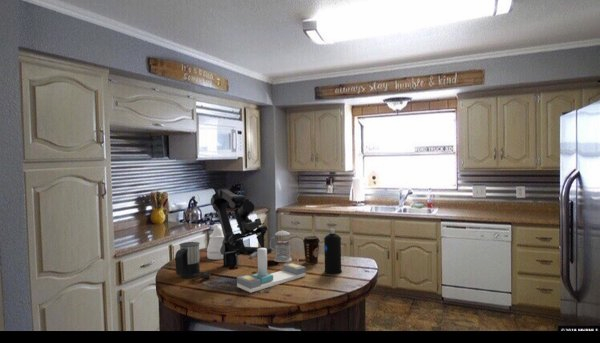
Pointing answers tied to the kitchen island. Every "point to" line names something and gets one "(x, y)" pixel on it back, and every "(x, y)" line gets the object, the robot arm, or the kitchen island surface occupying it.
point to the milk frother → (188, 261)
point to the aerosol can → (332, 253)
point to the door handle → (253, 251)
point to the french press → (282, 247)
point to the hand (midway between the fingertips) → (255, 251)
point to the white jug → (215, 243)
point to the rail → (287, 274)
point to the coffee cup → (311, 249)
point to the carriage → (262, 266)
